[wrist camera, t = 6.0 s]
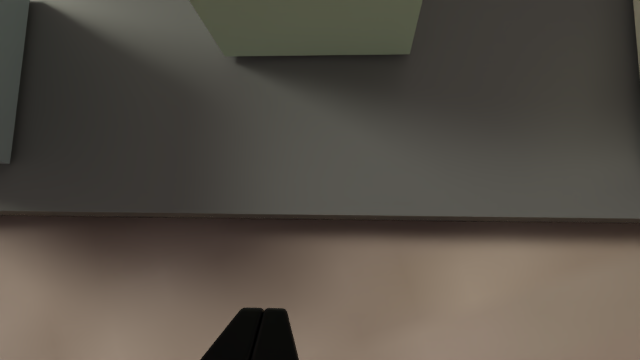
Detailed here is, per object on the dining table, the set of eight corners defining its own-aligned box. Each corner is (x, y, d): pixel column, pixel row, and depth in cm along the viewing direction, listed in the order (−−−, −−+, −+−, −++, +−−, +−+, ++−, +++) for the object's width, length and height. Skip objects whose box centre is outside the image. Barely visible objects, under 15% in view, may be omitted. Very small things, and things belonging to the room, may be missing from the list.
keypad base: (834, 225, 16) (882, 221, 15) (-133, 213, 19) (-175, 208, 17) (785, -113, 18) (822, -146, 17) (-85, -83, 21) (-119, -110, 19)
